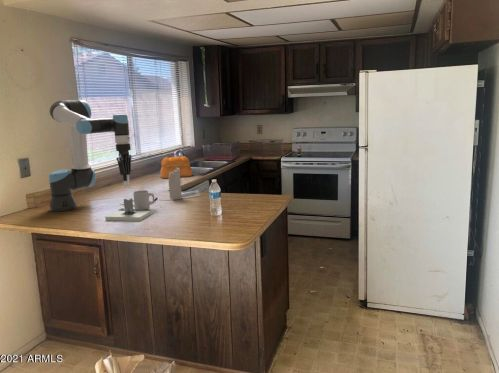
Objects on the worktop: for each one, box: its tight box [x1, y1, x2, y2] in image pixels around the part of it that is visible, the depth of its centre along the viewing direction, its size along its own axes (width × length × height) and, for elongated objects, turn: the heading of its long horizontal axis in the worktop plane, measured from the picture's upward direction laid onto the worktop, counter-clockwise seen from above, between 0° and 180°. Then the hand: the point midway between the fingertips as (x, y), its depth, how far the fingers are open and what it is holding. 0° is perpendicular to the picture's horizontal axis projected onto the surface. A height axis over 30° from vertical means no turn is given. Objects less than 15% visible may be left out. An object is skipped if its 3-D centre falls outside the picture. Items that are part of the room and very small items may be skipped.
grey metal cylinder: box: [123, 197, 134, 215], centre depth 233 cm, size 5×5×10 cm
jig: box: [104, 207, 153, 222], centre depth 234 cm, size 20×16×3 cm
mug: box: [132, 189, 156, 209], centre depth 248 cm, size 12×8×11 cm
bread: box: [159, 155, 193, 179], centre depth 361 cm, size 16×26×17 cm, turn 108°
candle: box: [159, 168, 183, 201], centre depth 273 cm, size 7×14×20 cm, turn 108°
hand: (126, 186), depth 231 cm, fingers closed
